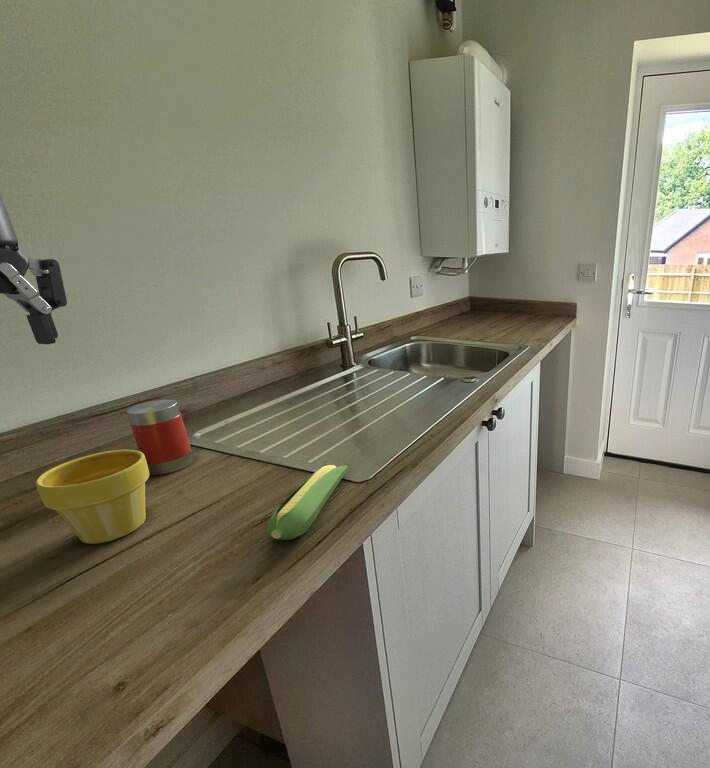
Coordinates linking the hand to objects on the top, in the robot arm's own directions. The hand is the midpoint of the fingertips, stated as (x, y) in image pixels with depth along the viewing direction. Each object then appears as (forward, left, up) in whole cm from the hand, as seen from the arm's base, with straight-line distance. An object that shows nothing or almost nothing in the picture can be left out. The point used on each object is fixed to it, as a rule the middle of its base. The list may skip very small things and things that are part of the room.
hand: (11, 349), depth 49 cm
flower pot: (+3, -4, -26) cm, 26 cm away
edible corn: (+24, -20, -26) cm, 41 cm away
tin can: (+12, +12, -26) cm, 31 cm away
